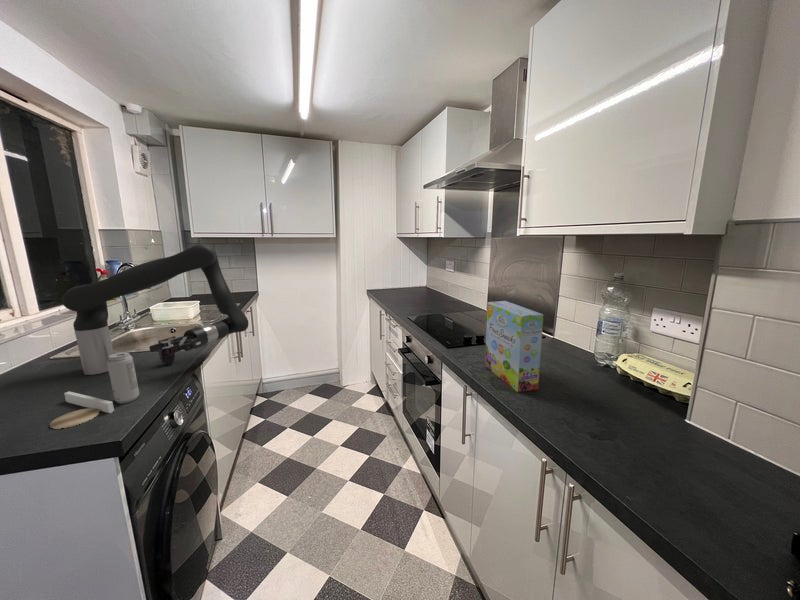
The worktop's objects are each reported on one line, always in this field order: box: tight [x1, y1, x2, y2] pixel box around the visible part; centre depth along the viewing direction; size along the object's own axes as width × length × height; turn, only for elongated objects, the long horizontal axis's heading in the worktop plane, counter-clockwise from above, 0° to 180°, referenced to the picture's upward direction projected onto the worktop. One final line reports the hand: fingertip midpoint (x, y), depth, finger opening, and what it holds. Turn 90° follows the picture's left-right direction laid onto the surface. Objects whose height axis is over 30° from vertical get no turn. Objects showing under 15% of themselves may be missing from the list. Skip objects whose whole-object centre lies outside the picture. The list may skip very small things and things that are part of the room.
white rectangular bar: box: [64, 390, 115, 414], centre depth 97 cm, size 21×1×3 cm, turn 71°
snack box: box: [484, 300, 544, 393], centre depth 110 cm, size 22×9×26 cm, turn 14°
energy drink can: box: [107, 351, 140, 405], centre depth 100 cm, size 6×6×15 cm
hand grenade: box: [155, 343, 176, 366], centre depth 127 cm, size 6×5×10 cm
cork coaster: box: [49, 407, 101, 430], centre depth 91 cm, size 10×10×1 cm
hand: (158, 350), depth 109 cm, fingers open, 8 cm apart
